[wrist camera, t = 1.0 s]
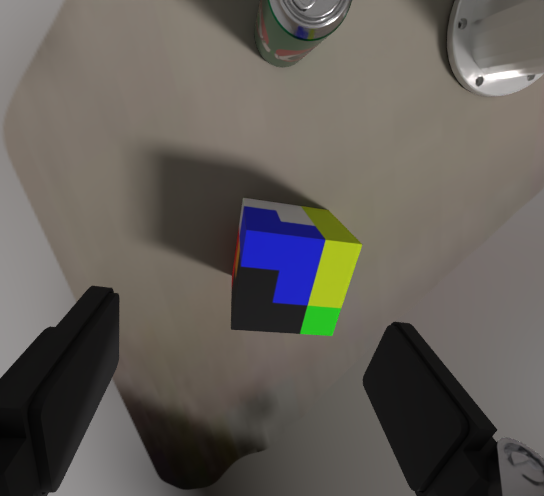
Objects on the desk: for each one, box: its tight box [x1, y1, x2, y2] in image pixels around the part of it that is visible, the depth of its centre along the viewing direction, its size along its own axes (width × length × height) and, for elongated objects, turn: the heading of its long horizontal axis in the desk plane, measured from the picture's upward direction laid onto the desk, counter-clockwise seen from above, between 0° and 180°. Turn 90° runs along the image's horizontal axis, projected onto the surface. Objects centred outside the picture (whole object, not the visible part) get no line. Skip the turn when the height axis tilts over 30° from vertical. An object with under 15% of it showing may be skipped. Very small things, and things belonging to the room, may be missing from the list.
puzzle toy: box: [231, 198, 362, 336], centre depth 30 cm, size 10×10×10 cm
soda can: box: [254, 0, 352, 67], centre depth 20 cm, size 5×5×12 cm
